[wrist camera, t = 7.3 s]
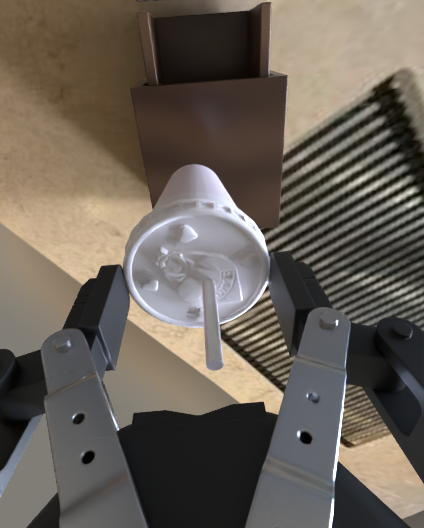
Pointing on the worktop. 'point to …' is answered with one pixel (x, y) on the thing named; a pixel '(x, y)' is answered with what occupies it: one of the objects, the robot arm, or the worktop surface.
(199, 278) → the smoothie
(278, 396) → the worktop surface
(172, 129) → the cabinet
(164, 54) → the drawer
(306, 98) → the worktop surface
